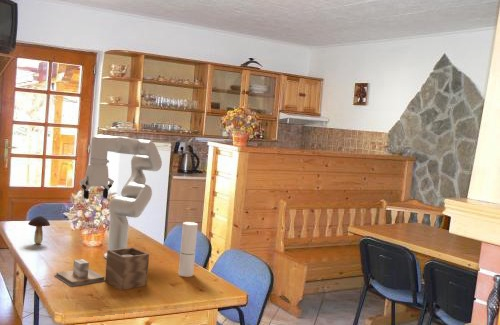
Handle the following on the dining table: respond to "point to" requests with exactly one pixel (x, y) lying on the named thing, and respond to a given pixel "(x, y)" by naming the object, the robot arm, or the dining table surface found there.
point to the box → (126, 268)
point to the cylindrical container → (188, 249)
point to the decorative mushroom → (39, 228)
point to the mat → (77, 284)
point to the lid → (80, 273)
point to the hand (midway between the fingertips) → (95, 198)
